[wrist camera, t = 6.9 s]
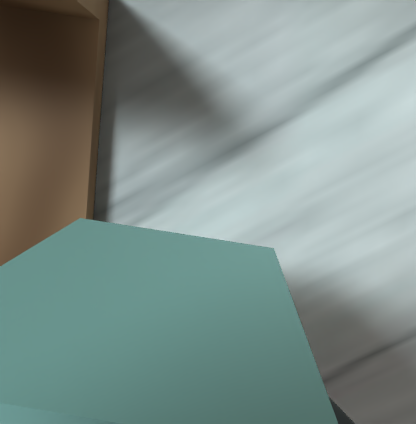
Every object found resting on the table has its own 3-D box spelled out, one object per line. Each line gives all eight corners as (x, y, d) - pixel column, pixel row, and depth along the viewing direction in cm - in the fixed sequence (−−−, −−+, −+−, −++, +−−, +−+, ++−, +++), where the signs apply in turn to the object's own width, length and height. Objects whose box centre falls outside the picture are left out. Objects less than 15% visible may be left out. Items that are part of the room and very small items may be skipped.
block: (69, 384, 10) (-135, 711, 5) (79, 218, 9) (-176, 373, 3) (240, 412, 10) (257, 786, 4) (273, 248, 9) (352, 461, 3)
